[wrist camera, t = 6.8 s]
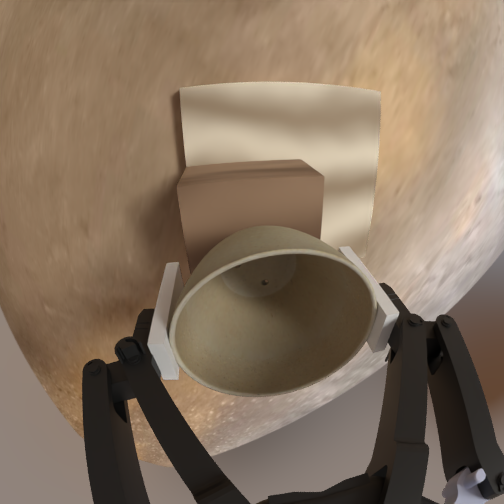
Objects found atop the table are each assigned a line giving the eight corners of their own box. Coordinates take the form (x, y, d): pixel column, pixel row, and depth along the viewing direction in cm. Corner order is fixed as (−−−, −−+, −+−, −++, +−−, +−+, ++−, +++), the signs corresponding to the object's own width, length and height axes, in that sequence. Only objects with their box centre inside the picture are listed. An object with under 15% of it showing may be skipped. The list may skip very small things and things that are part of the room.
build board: (180, 88, 20) (179, 88, 19) (375, 91, 21) (380, 91, 20) (201, 268, 29) (201, 273, 28) (361, 252, 30) (365, 257, 30)
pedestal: (186, 166, 23) (176, 186, 17) (300, 159, 23) (324, 176, 18) (199, 265, 28) (196, 304, 22) (297, 256, 28) (314, 292, 23)
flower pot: (236, 335, 22) (244, 413, 16) (152, 246, 17) (123, 325, 11) (348, 276, 20) (392, 345, 14) (289, 159, 15) (338, 200, 9)
